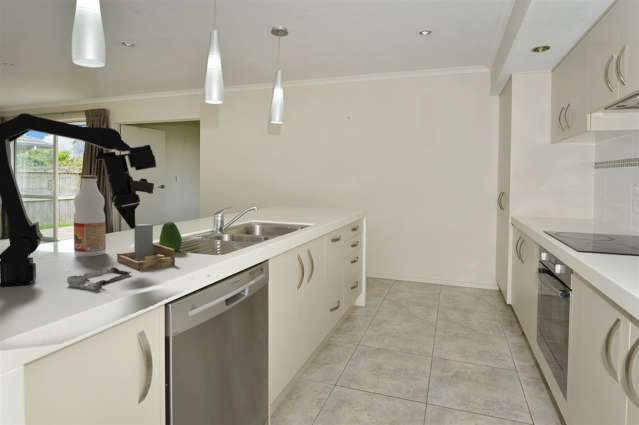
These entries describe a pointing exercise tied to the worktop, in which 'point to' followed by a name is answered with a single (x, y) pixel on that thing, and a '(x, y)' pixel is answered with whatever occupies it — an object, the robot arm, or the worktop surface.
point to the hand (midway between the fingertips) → (131, 226)
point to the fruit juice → (89, 219)
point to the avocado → (170, 236)
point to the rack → (130, 260)
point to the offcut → (154, 257)
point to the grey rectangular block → (143, 241)
